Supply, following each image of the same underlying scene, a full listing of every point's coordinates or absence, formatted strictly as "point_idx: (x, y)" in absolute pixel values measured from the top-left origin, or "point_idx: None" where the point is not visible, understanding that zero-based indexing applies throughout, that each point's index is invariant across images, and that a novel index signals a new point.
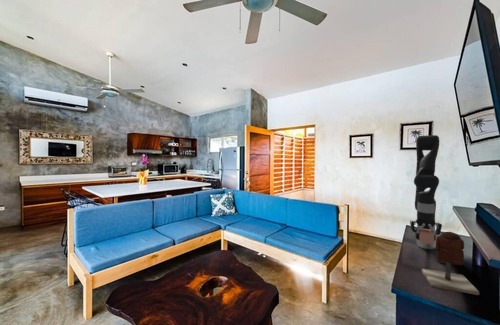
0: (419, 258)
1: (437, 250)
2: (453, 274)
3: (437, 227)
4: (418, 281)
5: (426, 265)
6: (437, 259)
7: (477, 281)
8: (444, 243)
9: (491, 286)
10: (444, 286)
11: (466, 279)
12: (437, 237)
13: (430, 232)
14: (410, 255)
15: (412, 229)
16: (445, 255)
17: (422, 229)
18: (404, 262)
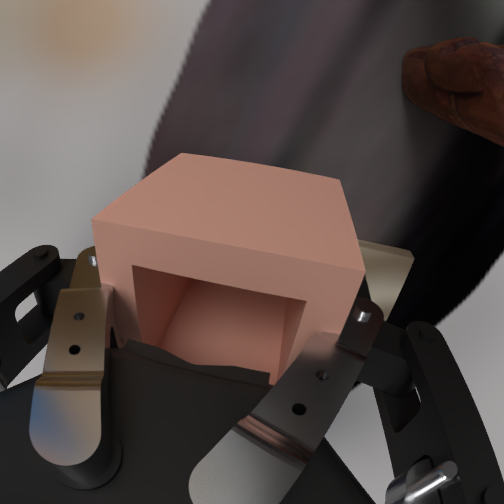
0: (297, 43)
1: (427, 75)
2: (370, 259)
3: (415, 455)
4: None
5: (296, 138)
6: (404, 74)
7: (446, 269)
8: (495, 139)
9: (462, 295)
10: None
11: (395, 294)
12: (493, 68)
13: (281, 373)
14: (252, 9)
15: (33, 323)
16: (449, 122)
17: (183, 275)
18: (173, 128)
